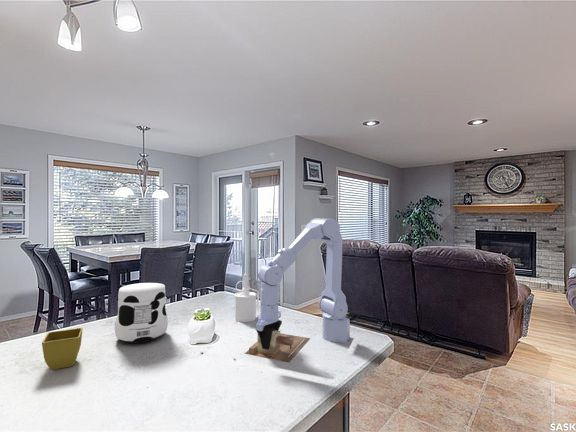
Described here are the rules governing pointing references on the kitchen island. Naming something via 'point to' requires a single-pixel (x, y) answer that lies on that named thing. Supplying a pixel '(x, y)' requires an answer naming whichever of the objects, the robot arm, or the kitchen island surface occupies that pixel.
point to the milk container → (141, 312)
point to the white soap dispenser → (245, 303)
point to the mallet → (275, 343)
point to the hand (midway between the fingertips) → (268, 346)
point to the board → (282, 349)
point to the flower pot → (62, 348)
